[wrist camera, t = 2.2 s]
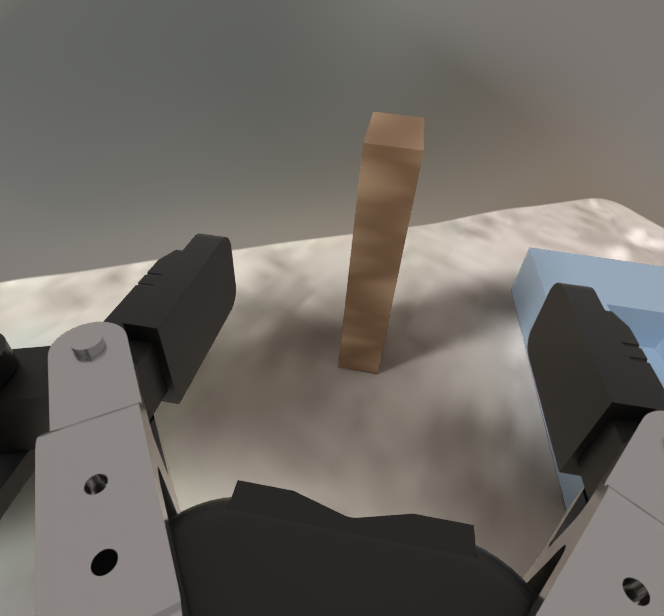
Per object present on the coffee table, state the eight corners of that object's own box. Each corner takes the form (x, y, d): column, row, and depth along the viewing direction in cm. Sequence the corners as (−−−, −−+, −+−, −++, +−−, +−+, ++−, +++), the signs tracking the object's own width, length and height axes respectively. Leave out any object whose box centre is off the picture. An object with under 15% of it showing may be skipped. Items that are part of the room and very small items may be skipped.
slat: (338, 367, 27) (363, 142, 18) (348, 320, 30) (373, 111, 21) (377, 374, 26) (423, 150, 17) (383, 325, 30) (424, 117, 21)
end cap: (567, 514, 21) (607, 472, 18) (511, 289, 34) (529, 247, 31) (836, 565, 20) (920, 529, 17) (667, 313, 33) (700, 271, 30)
